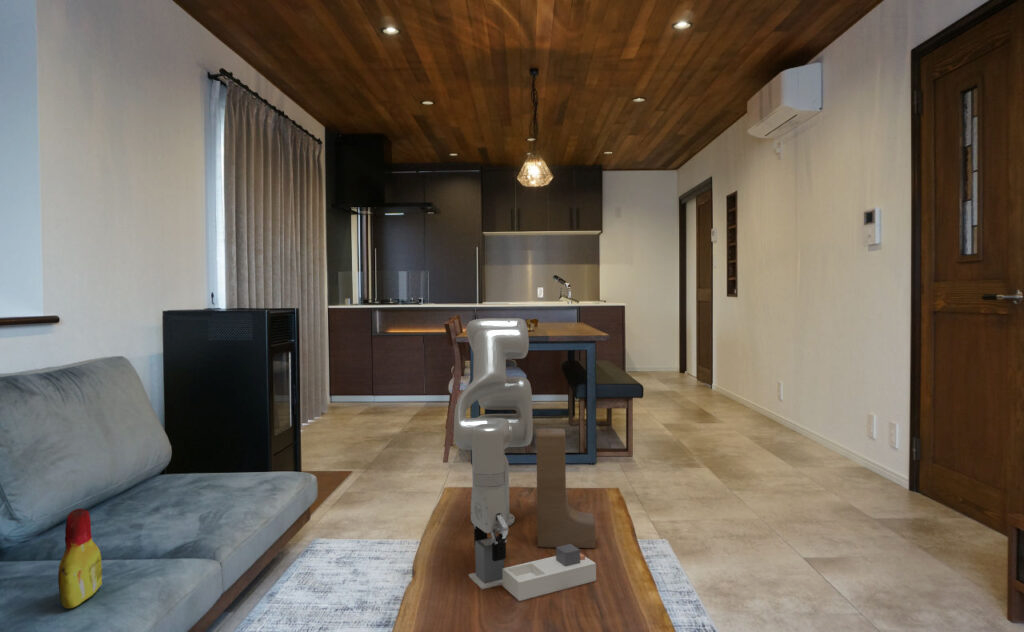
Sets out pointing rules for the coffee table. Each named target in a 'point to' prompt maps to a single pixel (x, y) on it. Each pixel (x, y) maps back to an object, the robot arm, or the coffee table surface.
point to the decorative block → (558, 497)
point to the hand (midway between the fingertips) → (489, 552)
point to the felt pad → (486, 585)
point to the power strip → (549, 574)
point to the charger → (487, 562)
